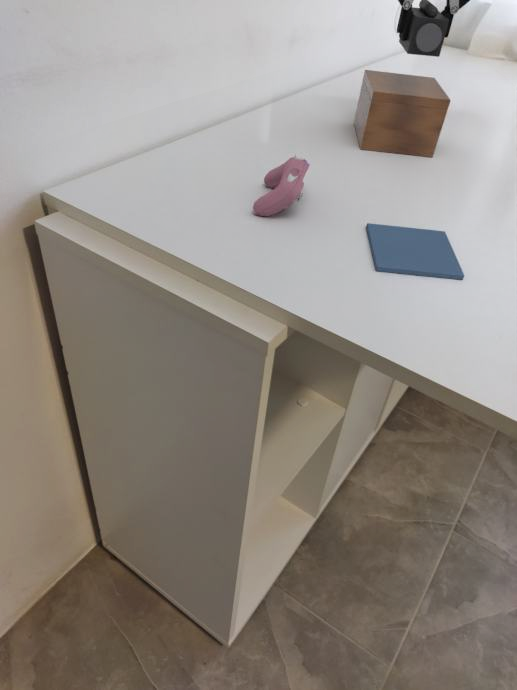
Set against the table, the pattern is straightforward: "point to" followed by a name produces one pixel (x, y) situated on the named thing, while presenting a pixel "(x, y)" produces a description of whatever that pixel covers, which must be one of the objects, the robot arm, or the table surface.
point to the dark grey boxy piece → (426, 31)
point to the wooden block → (400, 113)
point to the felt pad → (413, 251)
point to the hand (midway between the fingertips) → (420, 39)
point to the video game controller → (282, 187)
